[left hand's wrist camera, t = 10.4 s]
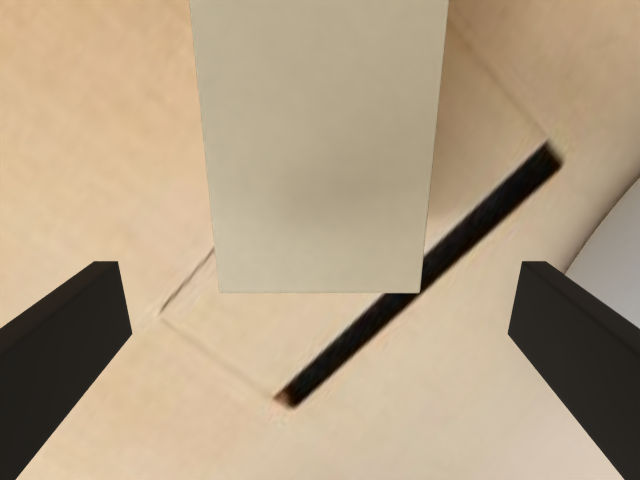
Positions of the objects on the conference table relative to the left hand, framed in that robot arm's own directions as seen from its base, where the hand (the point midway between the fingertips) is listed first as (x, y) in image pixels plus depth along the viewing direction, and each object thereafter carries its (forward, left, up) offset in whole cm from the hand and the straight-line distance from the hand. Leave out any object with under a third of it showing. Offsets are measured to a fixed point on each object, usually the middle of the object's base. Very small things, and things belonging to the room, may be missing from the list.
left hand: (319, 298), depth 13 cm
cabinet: (+5, -1, -18) cm, 19 cm away
